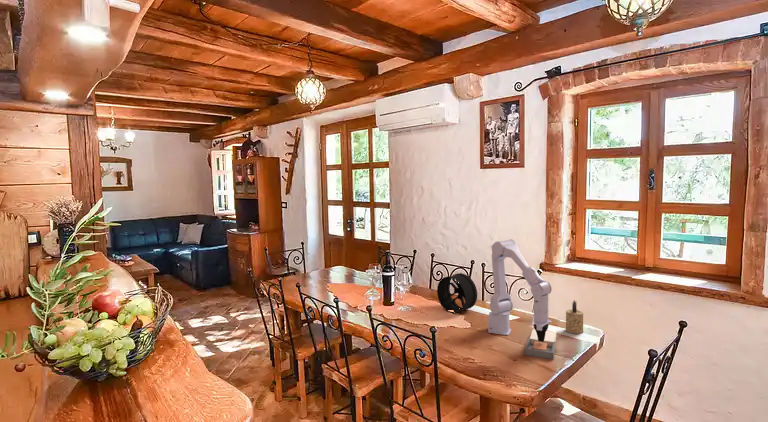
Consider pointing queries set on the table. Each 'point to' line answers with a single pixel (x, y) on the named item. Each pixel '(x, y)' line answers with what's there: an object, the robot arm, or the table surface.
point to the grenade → (574, 320)
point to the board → (549, 337)
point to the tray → (539, 351)
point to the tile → (540, 346)
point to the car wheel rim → (464, 291)
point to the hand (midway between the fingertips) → (541, 341)
